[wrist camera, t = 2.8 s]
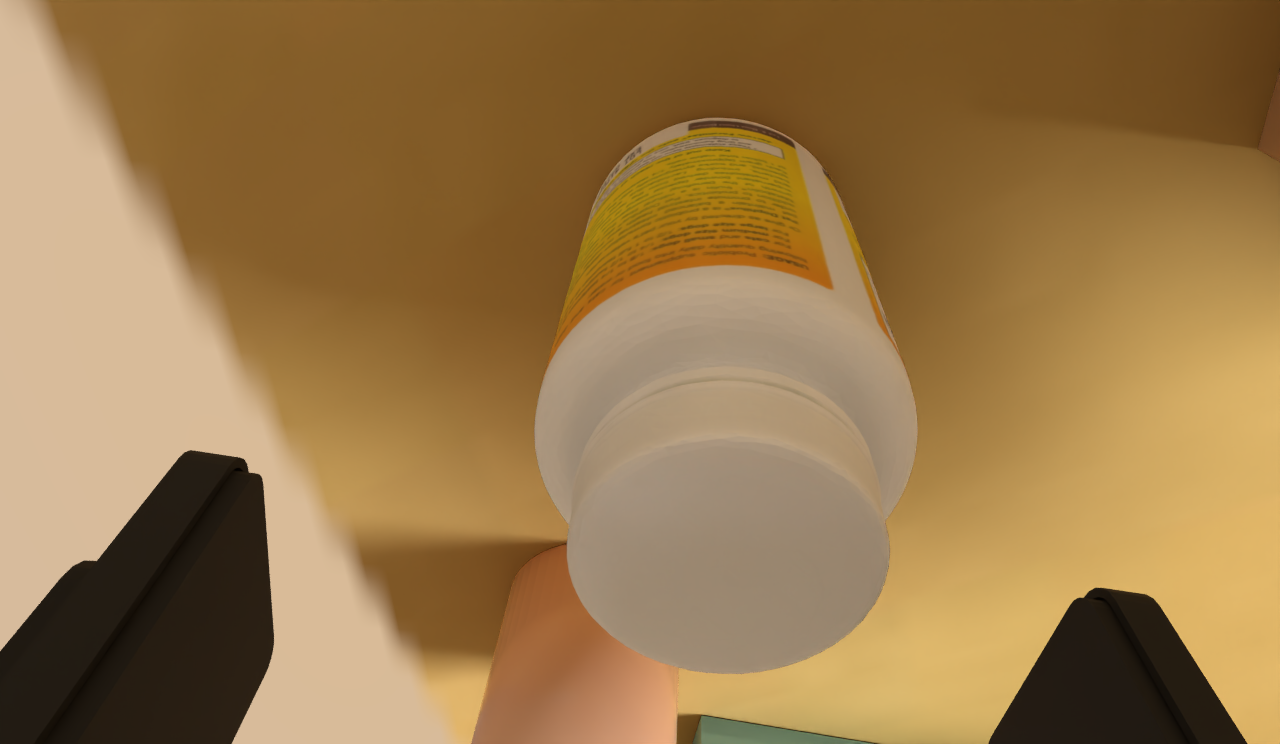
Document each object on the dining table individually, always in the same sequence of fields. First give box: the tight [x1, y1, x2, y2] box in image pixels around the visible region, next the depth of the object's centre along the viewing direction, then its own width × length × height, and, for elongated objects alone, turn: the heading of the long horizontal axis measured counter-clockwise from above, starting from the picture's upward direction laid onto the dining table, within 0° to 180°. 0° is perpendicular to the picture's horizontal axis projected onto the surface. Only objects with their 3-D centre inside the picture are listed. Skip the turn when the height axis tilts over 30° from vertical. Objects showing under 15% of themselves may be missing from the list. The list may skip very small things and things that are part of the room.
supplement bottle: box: [534, 118, 918, 674], centre depth 15 cm, size 6×6×10 cm
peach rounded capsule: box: [471, 544, 679, 744], centre depth 22 cm, size 5×5×8 cm
